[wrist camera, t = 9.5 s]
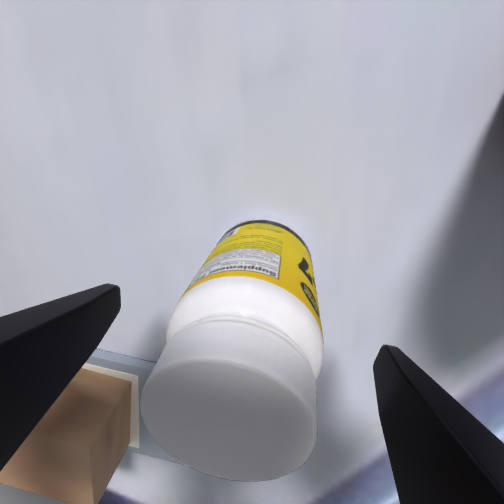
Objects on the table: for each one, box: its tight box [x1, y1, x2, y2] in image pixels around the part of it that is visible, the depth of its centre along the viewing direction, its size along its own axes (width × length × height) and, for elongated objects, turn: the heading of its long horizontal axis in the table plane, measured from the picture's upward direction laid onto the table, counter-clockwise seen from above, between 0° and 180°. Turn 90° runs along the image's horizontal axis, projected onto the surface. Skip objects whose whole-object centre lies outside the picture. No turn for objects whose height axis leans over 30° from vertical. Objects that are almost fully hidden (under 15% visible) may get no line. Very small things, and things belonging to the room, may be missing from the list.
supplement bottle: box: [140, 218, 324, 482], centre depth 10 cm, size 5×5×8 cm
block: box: [0, 368, 132, 504], centre depth 17 cm, size 6×6×4 cm
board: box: [82, 349, 185, 465], centre depth 19 cm, size 16×9×1 cm, turn 80°
